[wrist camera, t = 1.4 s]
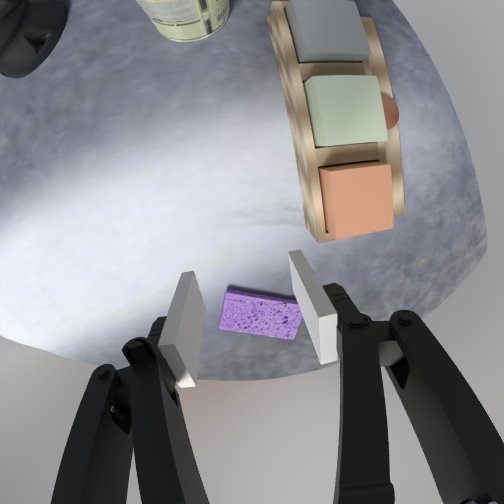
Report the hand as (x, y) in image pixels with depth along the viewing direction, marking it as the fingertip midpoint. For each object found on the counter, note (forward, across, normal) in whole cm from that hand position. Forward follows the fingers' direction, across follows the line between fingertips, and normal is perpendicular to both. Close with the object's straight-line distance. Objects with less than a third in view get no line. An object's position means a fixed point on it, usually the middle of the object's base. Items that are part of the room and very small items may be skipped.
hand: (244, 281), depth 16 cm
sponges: (+22, 0, -18) cm, 28 cm away
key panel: (+21, +16, +10) cm, 28 cm away
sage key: (+17, +14, +10) cm, 24 cm away
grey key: (+17, +14, +20) cm, 29 cm away
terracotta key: (+17, +14, 0) cm, 22 cm away
